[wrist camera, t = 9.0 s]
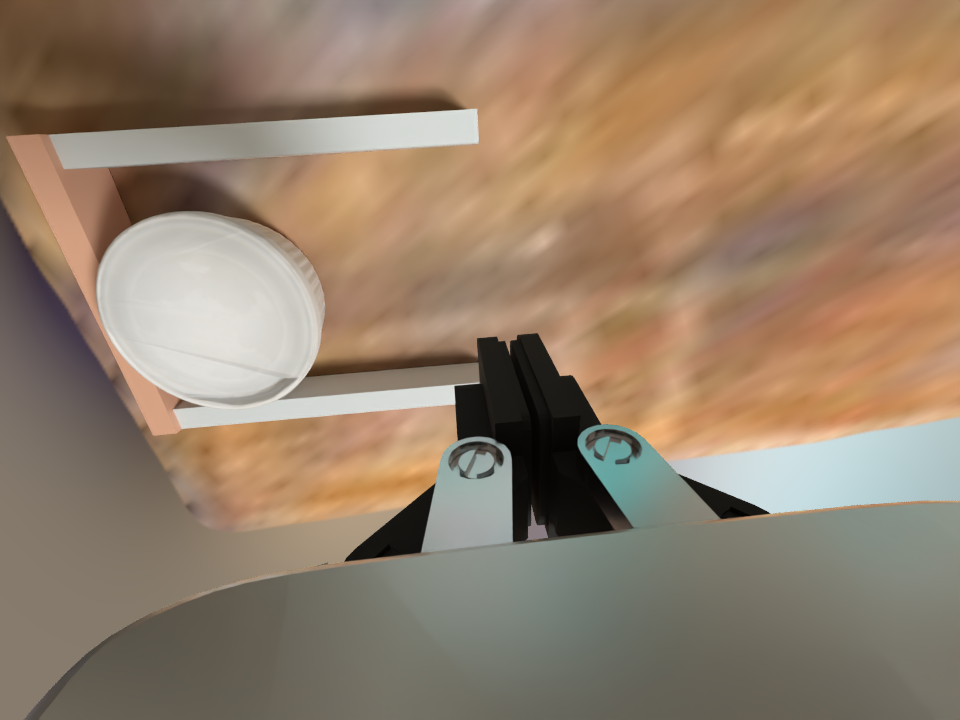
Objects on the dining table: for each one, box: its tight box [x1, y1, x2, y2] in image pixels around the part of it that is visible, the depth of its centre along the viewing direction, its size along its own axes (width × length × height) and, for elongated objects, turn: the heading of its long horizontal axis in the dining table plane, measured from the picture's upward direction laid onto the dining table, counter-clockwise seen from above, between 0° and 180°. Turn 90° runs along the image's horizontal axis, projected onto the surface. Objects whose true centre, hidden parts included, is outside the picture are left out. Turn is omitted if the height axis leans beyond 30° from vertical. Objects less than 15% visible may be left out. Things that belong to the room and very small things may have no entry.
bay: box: [6, 109, 480, 435], centre depth 25 cm, size 17×22×4 cm
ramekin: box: [95, 211, 325, 410], centre depth 25 cm, size 11×11×5 cm
